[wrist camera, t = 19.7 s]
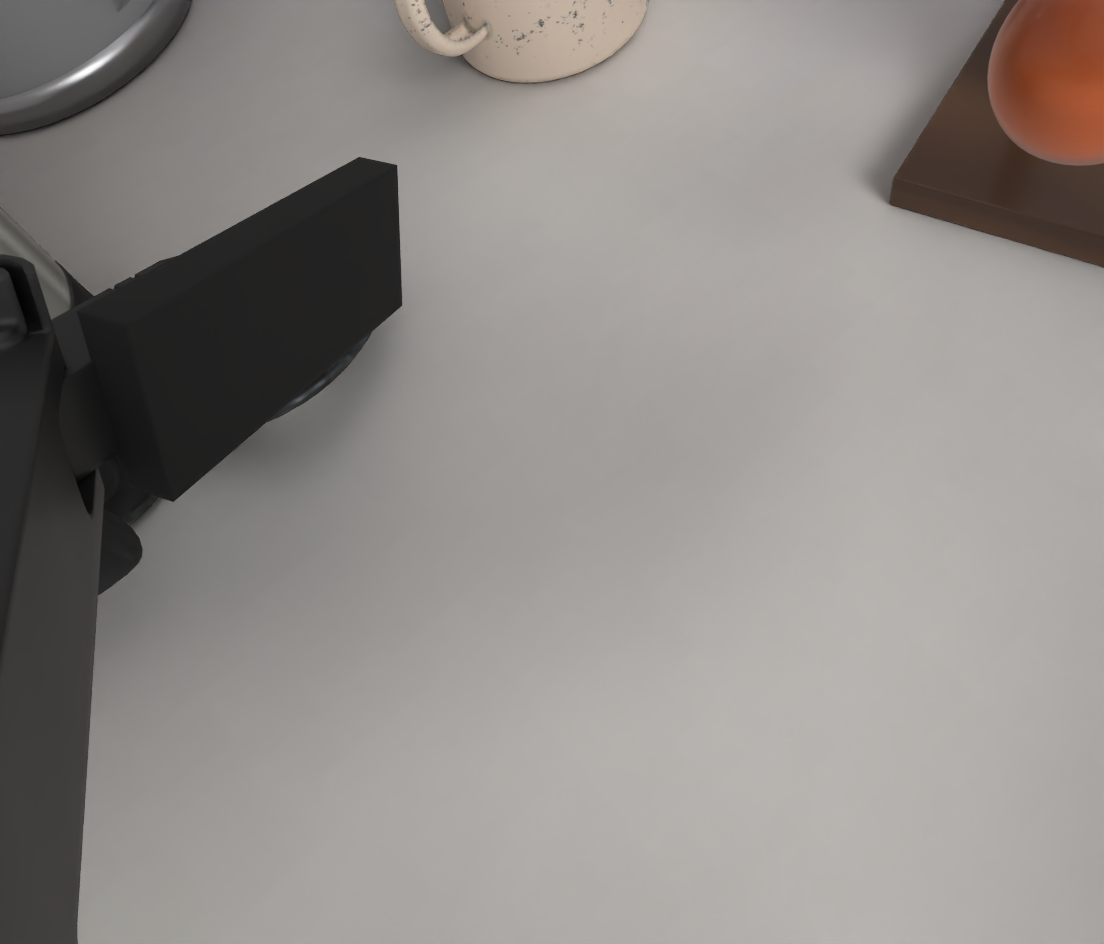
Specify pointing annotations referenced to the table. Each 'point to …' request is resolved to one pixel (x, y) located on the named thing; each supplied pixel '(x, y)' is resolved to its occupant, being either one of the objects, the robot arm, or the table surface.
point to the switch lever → (1051, 79)
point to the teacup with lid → (527, 34)
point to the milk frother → (119, 499)
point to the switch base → (998, 173)
